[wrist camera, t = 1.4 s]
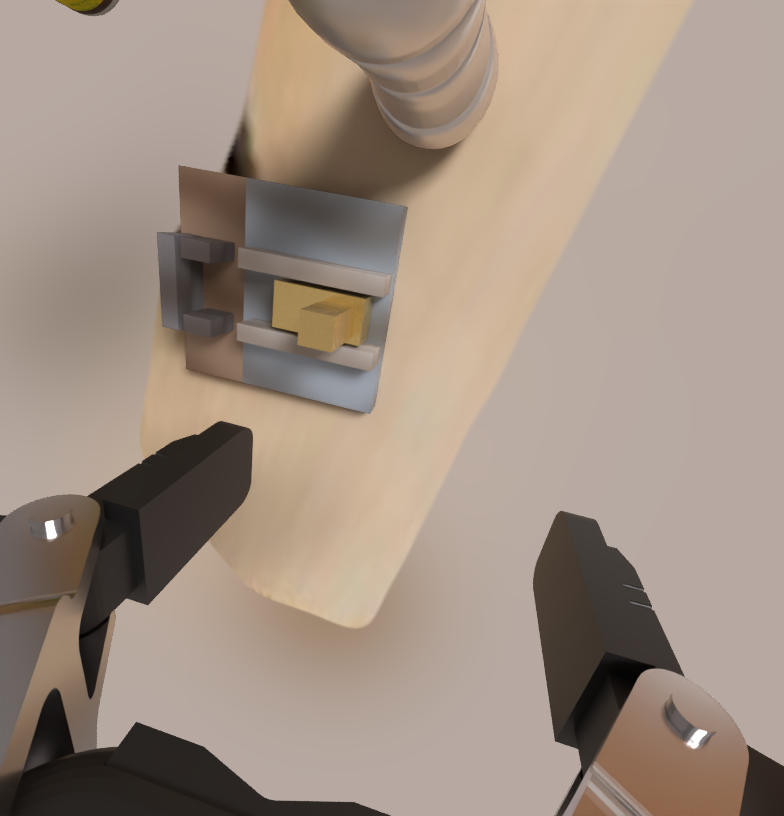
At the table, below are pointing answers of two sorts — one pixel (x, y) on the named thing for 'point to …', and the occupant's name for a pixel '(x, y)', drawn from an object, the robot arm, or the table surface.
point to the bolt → (321, 314)
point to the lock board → (270, 260)
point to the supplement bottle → (90, 6)
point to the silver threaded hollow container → (416, 60)
